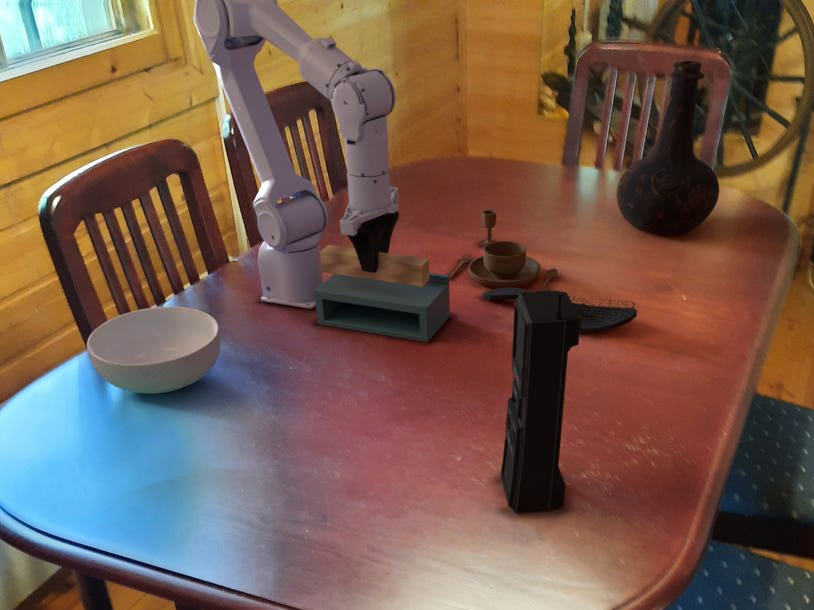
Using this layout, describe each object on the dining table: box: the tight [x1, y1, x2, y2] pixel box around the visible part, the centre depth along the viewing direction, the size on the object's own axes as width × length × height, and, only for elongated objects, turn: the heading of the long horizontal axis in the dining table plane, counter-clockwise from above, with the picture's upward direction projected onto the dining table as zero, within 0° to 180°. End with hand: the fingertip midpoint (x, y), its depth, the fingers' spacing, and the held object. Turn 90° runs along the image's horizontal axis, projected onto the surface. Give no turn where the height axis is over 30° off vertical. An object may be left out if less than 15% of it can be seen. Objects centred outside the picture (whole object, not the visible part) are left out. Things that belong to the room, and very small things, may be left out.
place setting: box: [449, 209, 559, 291], centre depth 143 cm, size 18×20×6 cm
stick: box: [320, 244, 430, 287], centre depth 123 cm, size 16×3×3 cm, turn 68°
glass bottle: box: [616, 60, 720, 236], centre depth 150 cm, size 18×18×28 cm
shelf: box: [314, 272, 451, 343], centre depth 128 cm, size 18×9×7 cm, turn 68°
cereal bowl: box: [86, 306, 222, 394], centre depth 115 cm, size 17×17×7 cm
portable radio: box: [500, 289, 581, 514], centre depth 88 cm, size 8×6×25 cm
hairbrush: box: [483, 287, 638, 334], centre depth 129 cm, size 8×4×25 cm
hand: (374, 266), depth 123 cm, fingers closed on stick, 2 cm apart
